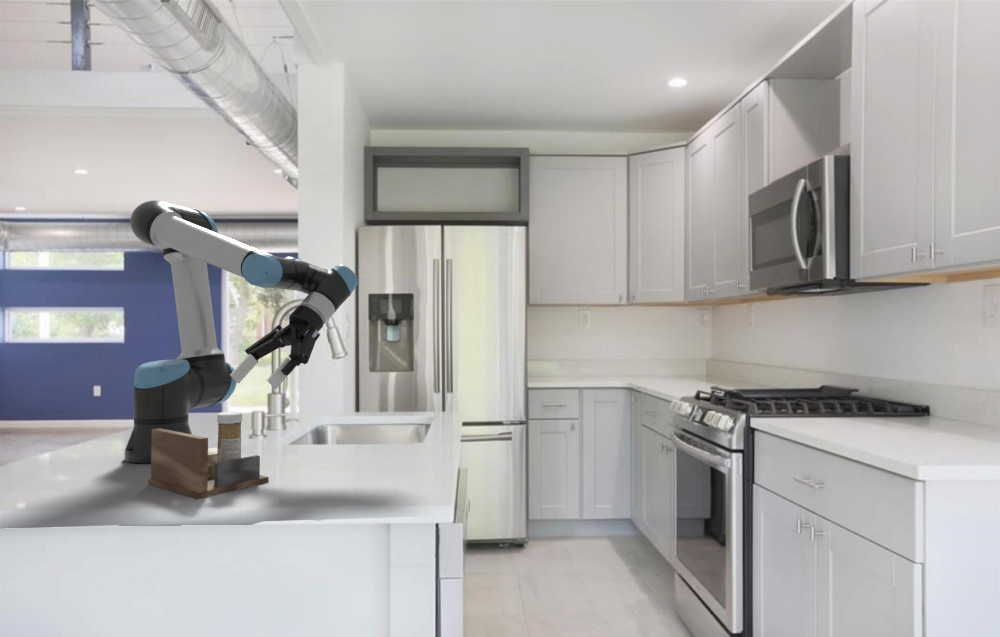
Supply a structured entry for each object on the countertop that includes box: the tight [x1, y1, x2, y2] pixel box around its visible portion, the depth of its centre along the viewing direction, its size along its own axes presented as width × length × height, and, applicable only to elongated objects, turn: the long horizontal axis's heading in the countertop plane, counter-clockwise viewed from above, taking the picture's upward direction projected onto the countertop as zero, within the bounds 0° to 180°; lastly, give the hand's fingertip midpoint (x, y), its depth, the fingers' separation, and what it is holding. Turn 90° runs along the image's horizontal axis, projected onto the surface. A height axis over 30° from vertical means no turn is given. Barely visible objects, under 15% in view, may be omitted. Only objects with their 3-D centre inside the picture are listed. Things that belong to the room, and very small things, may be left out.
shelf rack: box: [147, 428, 269, 500], centre depth 121 cm, size 15×18×11 cm
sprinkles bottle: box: [216, 410, 243, 463], centre depth 120 cm, size 5×5×14 cm
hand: (252, 382), depth 129 cm, fingers open, 13 cm apart
